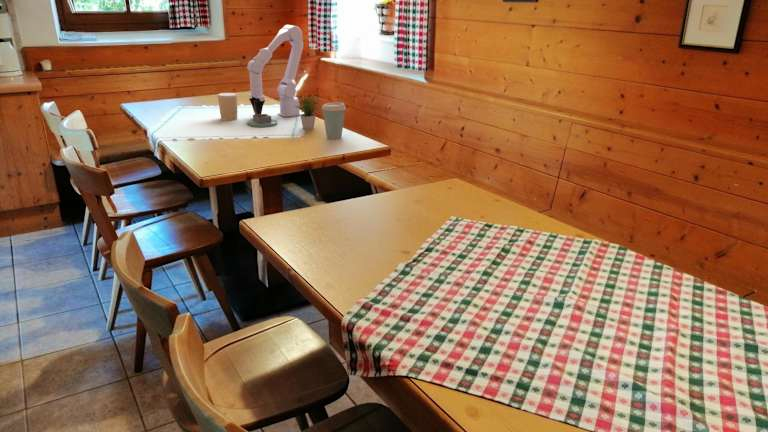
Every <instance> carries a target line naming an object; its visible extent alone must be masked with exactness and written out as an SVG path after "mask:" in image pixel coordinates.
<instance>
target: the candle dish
mask: <svg viewBox="0 0 768 432" xmlns="http://www.w3.org/2000/svg"><path fill="white" fill-rule="evenodd" d="M277 125H278V121H277V119H273V118H272V116H271V115H270V114H267V113H261V114H258V115H255V114H253V115H252V119H250V120H248V121H247V126H248V127H254V128H269V127H275V126H277Z"/></svg>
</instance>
